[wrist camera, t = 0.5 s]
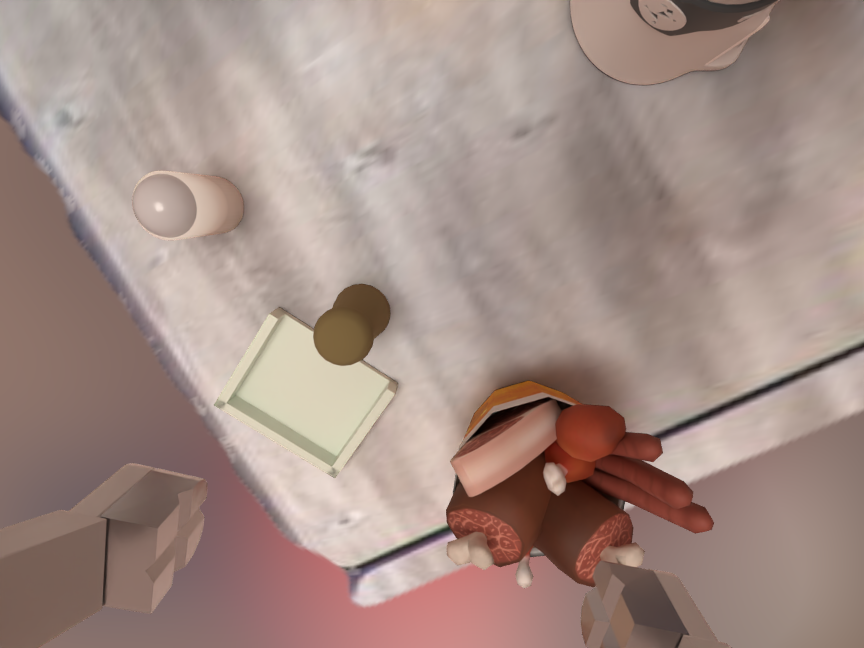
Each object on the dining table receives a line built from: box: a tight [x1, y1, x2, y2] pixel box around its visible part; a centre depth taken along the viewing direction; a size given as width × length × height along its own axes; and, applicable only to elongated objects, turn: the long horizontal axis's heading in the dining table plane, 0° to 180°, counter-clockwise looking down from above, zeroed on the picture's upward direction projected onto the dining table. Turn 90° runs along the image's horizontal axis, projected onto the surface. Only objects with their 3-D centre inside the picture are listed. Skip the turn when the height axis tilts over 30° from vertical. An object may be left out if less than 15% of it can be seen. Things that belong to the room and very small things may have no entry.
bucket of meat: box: [446, 381, 714, 588], centre depth 44 cm, size 20×16×20 cm
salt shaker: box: [132, 171, 244, 241], centre depth 43 cm, size 6×6×11 cm
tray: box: [214, 307, 398, 478], centre depth 52 cm, size 12×15×3 cm
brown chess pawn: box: [313, 284, 390, 366], centre depth 45 cm, size 6×6×11 cm
